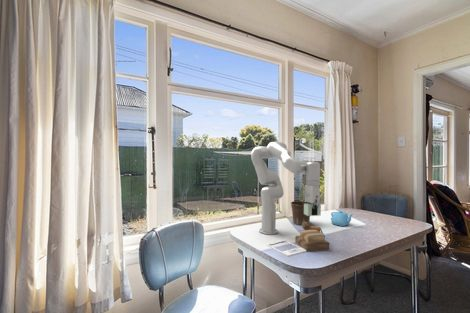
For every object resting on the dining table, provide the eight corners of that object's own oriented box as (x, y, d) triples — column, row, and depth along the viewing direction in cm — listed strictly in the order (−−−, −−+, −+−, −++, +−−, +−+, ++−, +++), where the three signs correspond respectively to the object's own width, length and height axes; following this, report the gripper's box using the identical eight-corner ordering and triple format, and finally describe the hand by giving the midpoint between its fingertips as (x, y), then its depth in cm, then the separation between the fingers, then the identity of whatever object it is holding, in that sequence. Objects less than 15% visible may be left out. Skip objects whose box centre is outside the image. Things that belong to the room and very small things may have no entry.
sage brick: (303, 213, 147) (304, 203, 147) (316, 213, 148) (316, 203, 148) (307, 215, 142) (308, 205, 142) (320, 215, 143) (320, 205, 143)
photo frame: (287, 255, 130) (266, 244, 146) (287, 257, 130) (266, 246, 146) (307, 249, 138) (285, 240, 153) (307, 251, 138) (285, 241, 153)
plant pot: (309, 228, 182) (309, 206, 182) (287, 224, 190) (287, 203, 190) (313, 222, 196) (314, 202, 196) (293, 219, 204) (294, 200, 204)
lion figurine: (301, 236, 164) (301, 222, 164) (302, 233, 169) (302, 220, 169) (325, 238, 159) (325, 224, 159) (324, 236, 164) (325, 222, 164)
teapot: (349, 214, 180) (326, 209, 194) (348, 229, 180) (326, 223, 195) (357, 212, 188) (335, 208, 202) (357, 226, 188) (335, 221, 202)
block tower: (295, 242, 151) (295, 229, 151) (316, 241, 154) (316, 228, 154) (306, 251, 137) (306, 237, 137) (329, 249, 140) (329, 235, 140)
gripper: (300, 181, 152) (299, 210, 153) (314, 185, 136) (313, 218, 136) (311, 181, 154) (310, 210, 154) (326, 184, 137) (325, 217, 137)
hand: (312, 213), depth 145 cm, fingers closed on sage brick, 4 cm apart
